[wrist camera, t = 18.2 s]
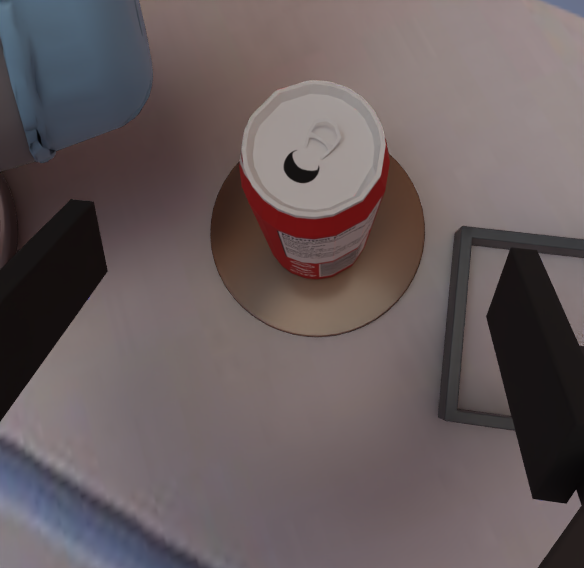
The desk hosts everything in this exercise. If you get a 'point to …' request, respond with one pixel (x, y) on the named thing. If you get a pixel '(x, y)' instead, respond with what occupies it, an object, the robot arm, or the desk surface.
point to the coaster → (327, 291)
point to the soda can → (314, 175)
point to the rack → (458, 310)
